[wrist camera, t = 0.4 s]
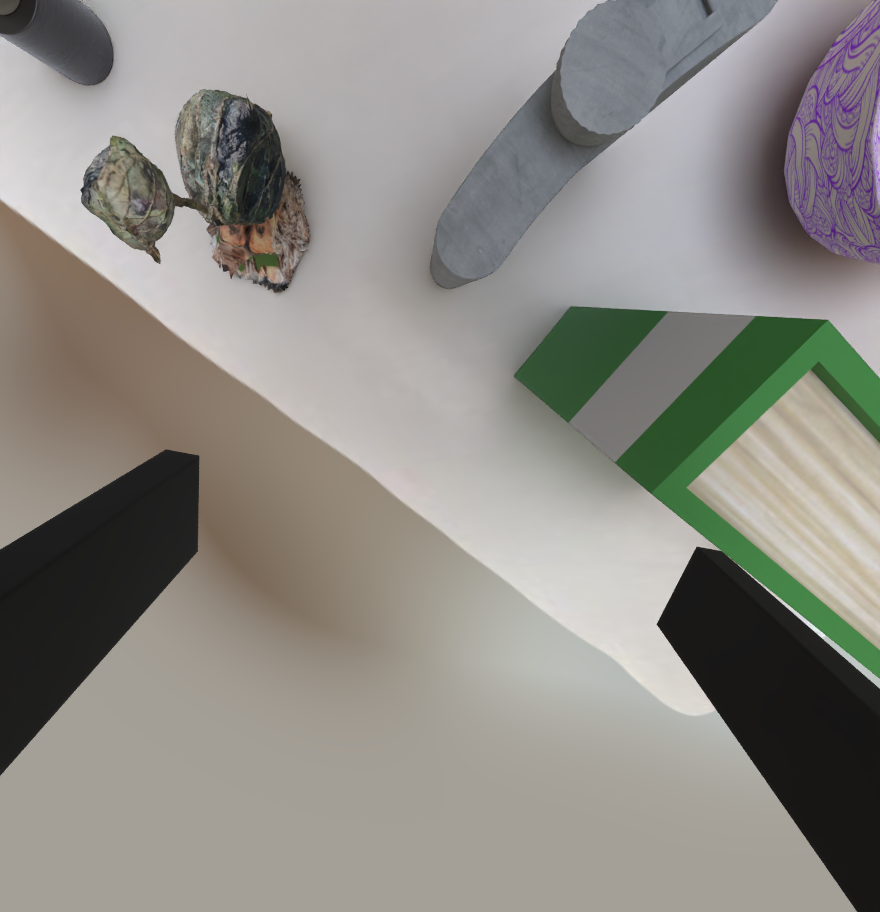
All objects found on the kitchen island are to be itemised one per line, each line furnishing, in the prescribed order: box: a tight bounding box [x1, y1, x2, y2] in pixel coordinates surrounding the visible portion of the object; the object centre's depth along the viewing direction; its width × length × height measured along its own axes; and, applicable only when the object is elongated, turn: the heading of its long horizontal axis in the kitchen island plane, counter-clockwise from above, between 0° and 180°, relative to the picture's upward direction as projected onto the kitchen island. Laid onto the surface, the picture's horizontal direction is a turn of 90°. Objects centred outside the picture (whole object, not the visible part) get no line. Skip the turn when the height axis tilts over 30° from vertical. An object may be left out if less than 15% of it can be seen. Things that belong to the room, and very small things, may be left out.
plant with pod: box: [81, 89, 310, 293], centre depth 23 cm, size 8×11×20 cm
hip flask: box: [430, 0, 778, 288], centre depth 23 cm, size 16×4×20 cm, turn 132°
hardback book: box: [514, 306, 880, 678], centre depth 27 cm, size 18×7×24 cm, turn 52°
